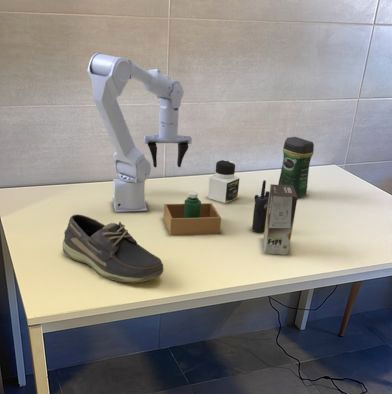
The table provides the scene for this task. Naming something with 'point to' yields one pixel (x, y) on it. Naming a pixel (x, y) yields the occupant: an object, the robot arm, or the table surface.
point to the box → (191, 220)
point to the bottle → (192, 206)
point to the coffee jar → (296, 164)
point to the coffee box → (279, 219)
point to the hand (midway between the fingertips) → (167, 166)
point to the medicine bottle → (224, 182)
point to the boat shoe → (109, 250)
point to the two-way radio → (260, 210)
